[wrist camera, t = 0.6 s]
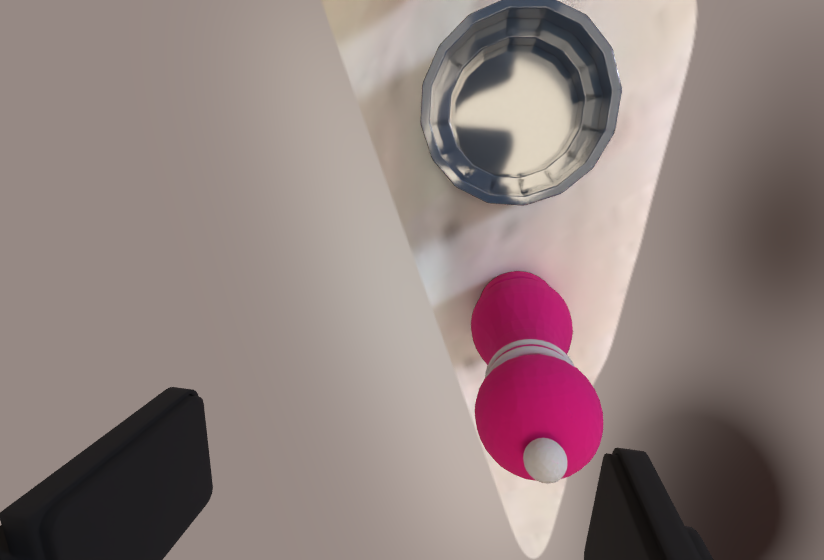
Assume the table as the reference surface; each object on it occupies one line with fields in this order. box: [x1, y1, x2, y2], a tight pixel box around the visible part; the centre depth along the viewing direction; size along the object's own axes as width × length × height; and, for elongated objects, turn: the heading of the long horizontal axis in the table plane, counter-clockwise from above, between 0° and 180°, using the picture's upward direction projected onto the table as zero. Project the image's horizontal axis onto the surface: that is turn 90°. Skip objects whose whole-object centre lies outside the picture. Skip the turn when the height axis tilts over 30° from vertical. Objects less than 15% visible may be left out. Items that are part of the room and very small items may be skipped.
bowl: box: [421, 0, 622, 205], centre depth 30 cm, size 12×12×5 cm
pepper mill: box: [471, 271, 603, 483], centre depth 27 cm, size 7×7×20 cm
